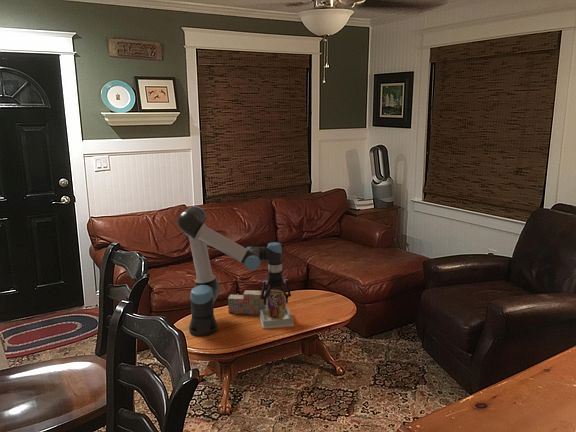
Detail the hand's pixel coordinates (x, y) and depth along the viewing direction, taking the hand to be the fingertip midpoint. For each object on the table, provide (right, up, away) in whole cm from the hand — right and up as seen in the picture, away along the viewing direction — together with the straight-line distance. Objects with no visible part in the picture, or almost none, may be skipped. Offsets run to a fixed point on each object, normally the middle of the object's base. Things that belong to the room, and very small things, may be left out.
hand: (276, 309), depth 277 cm
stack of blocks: (-17, -4, +14) cm, 23 cm away
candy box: (0, -5, +1) cm, 5 cm away
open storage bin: (0, -7, +2) cm, 7 cm away
